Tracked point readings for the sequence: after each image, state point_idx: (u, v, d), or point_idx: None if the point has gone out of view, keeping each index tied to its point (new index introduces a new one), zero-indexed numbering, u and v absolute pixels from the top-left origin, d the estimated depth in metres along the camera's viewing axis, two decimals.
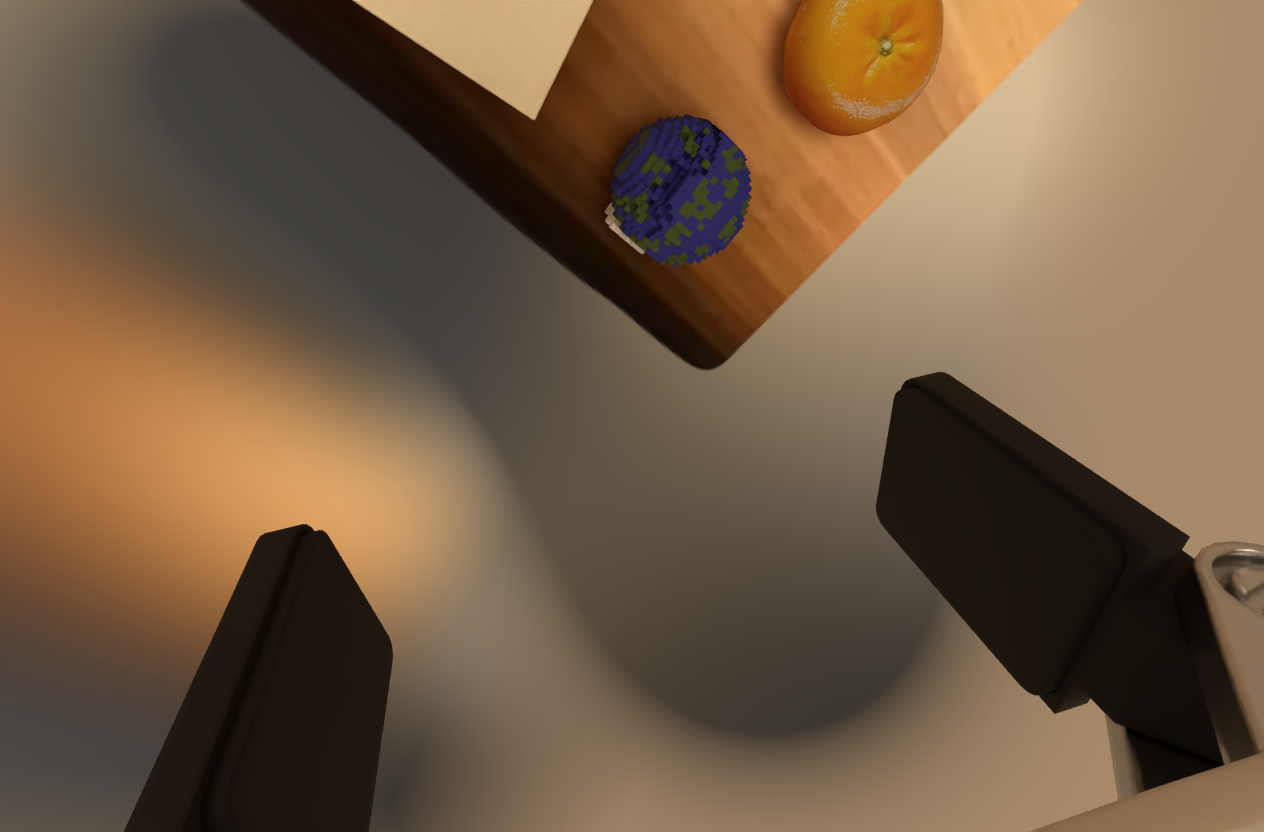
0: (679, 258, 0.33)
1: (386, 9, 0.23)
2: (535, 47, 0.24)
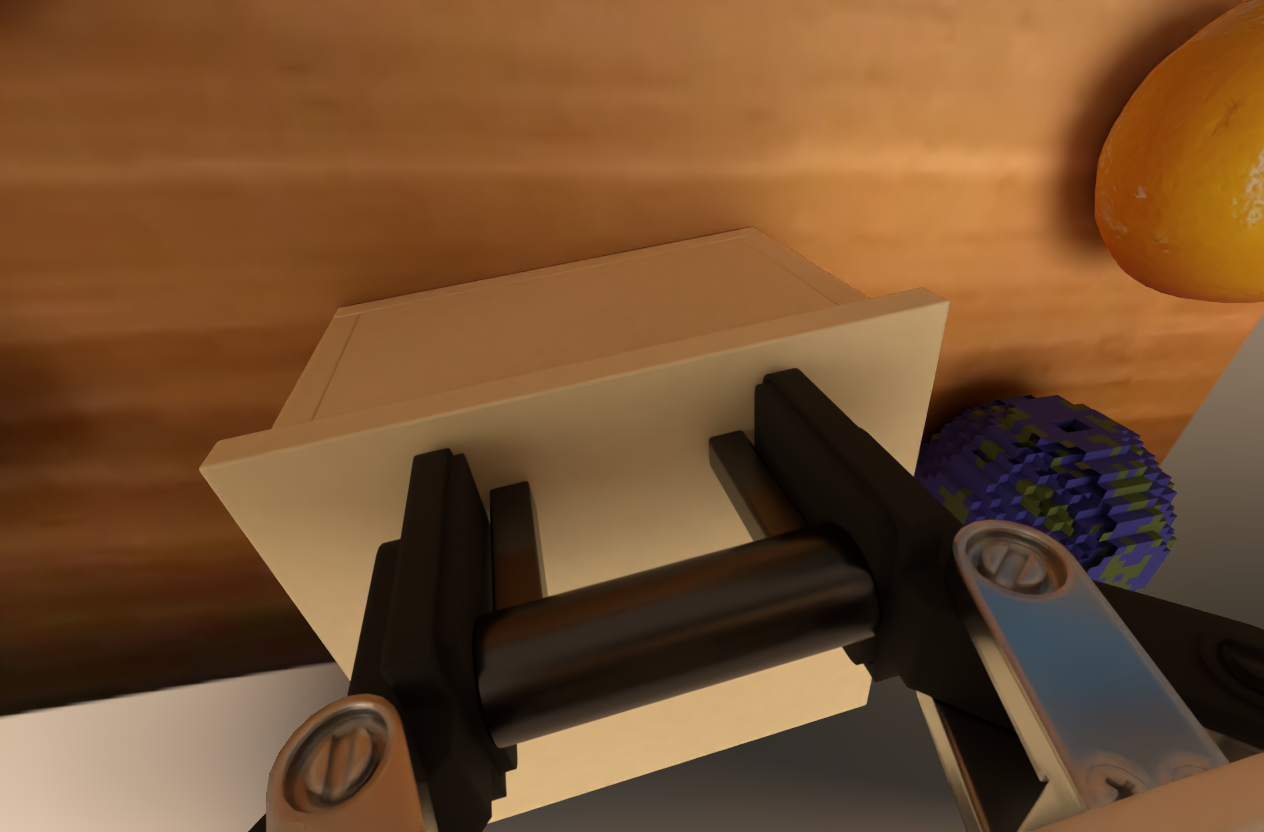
0: None
1: (652, 765, 0.16)
2: (835, 670, 0.16)
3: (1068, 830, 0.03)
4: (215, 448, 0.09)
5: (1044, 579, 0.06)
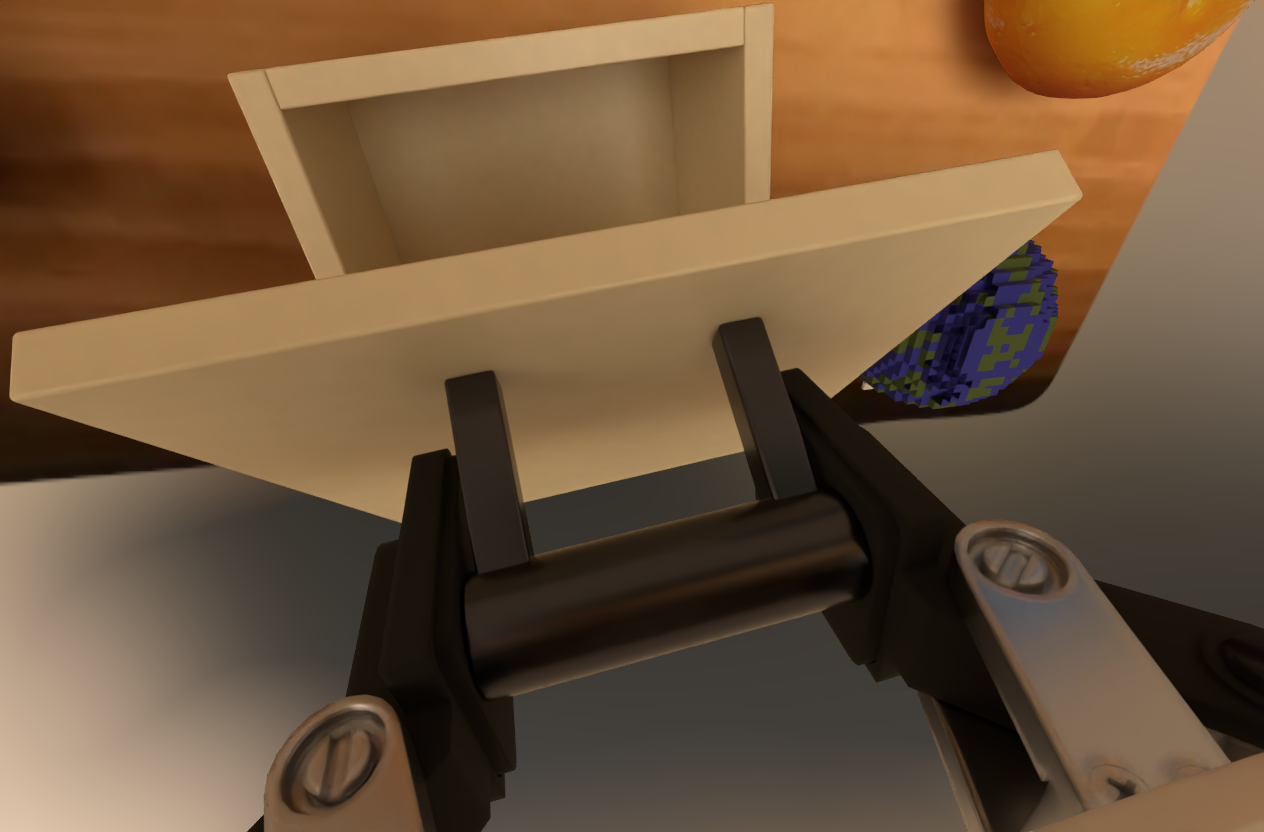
0: None
1: (585, 486, 0.19)
2: None
3: (1067, 829, 0.03)
4: (17, 355, 0.06)
5: (1046, 579, 0.06)
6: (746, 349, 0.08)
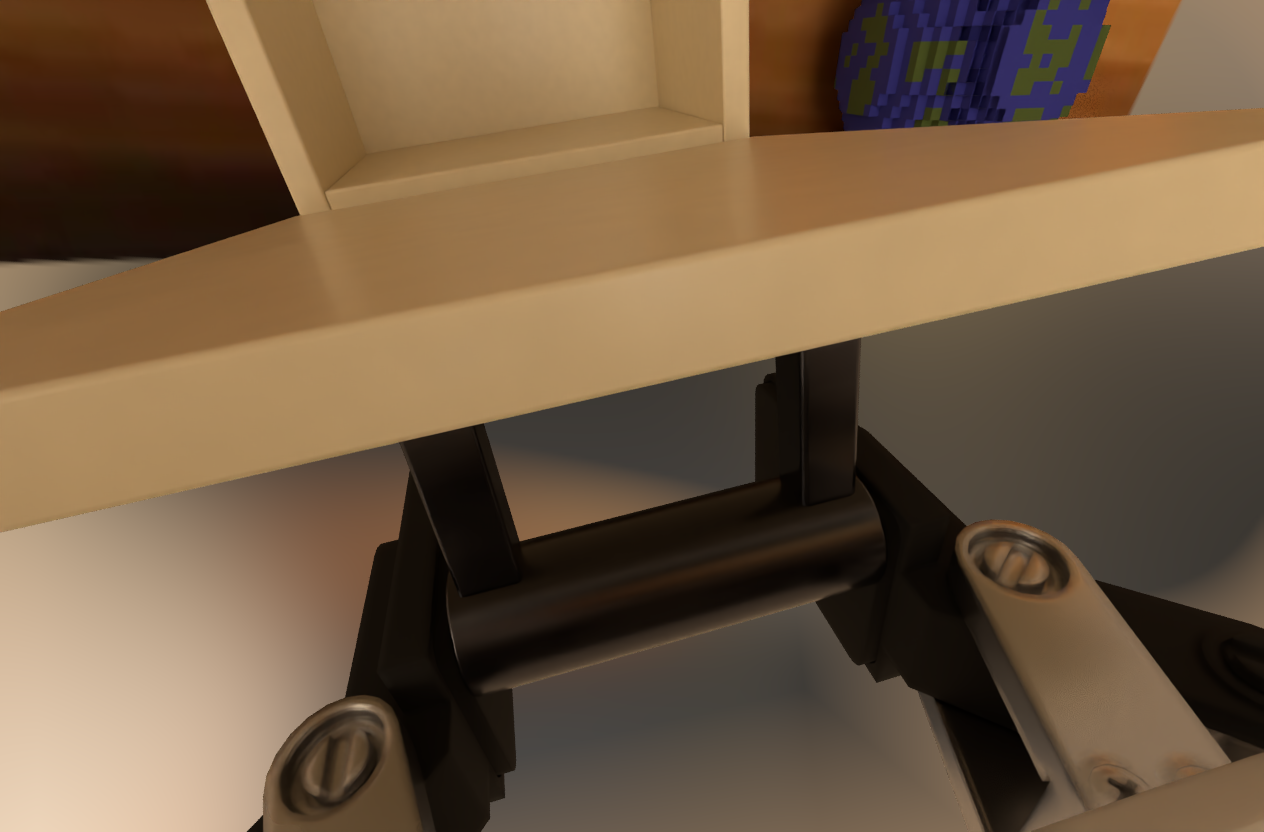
0: None
1: None
2: None
3: (1067, 830, 0.03)
4: None
5: (1047, 579, 0.06)
6: None
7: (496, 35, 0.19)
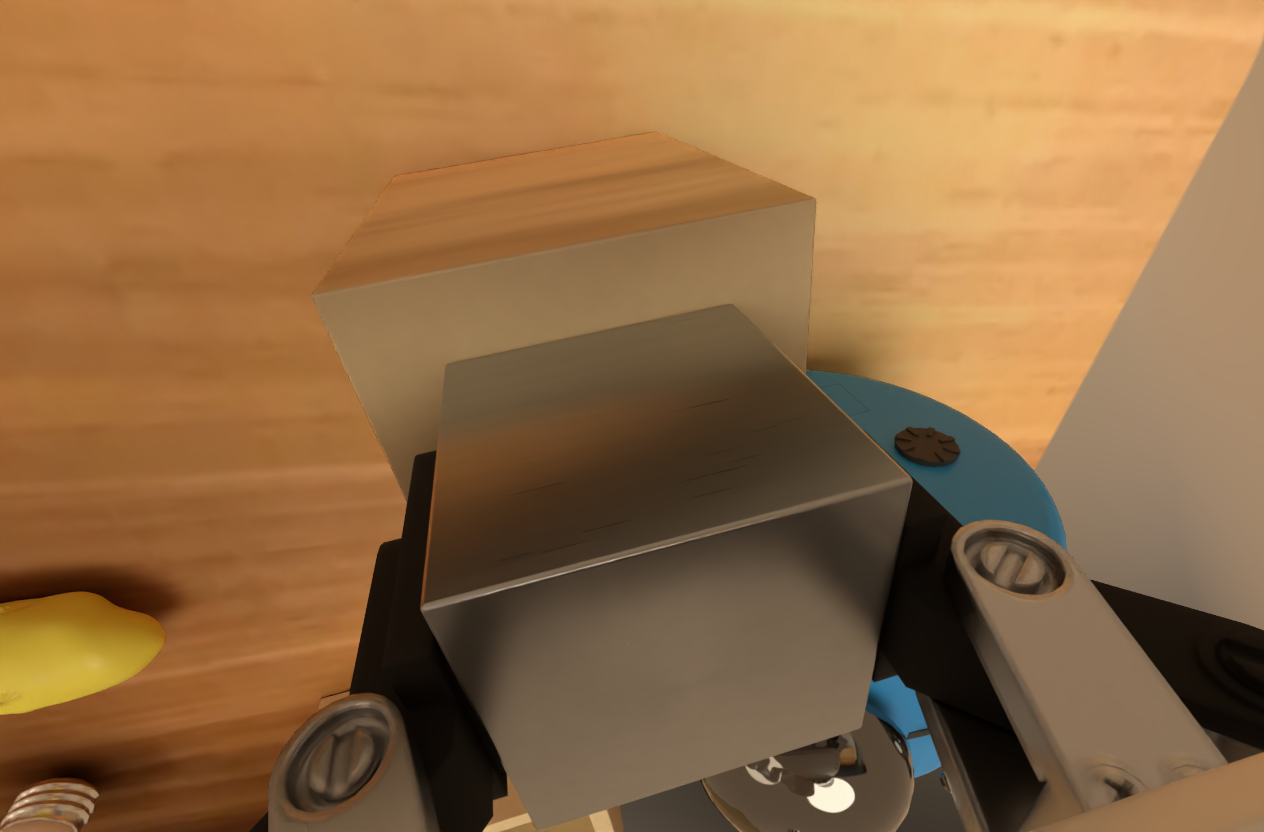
0: None
1: None
2: None
3: (1067, 830, 0.03)
4: None
5: (1042, 579, 0.06)
6: None
7: None
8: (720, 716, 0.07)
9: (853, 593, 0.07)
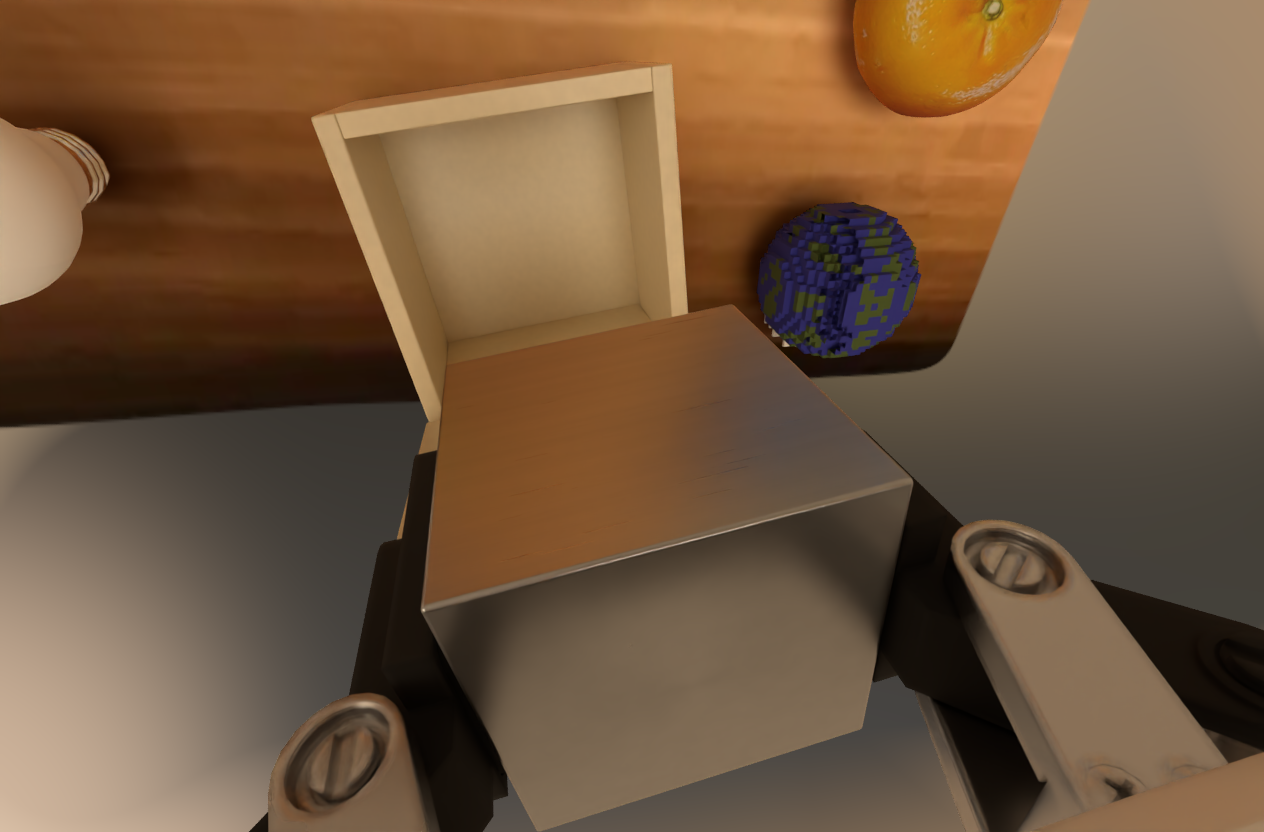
0: None
1: None
2: None
3: (1067, 830, 0.03)
4: None
5: (1043, 579, 0.06)
6: None
7: (534, 272, 0.30)
8: (720, 717, 0.07)
9: (854, 593, 0.07)
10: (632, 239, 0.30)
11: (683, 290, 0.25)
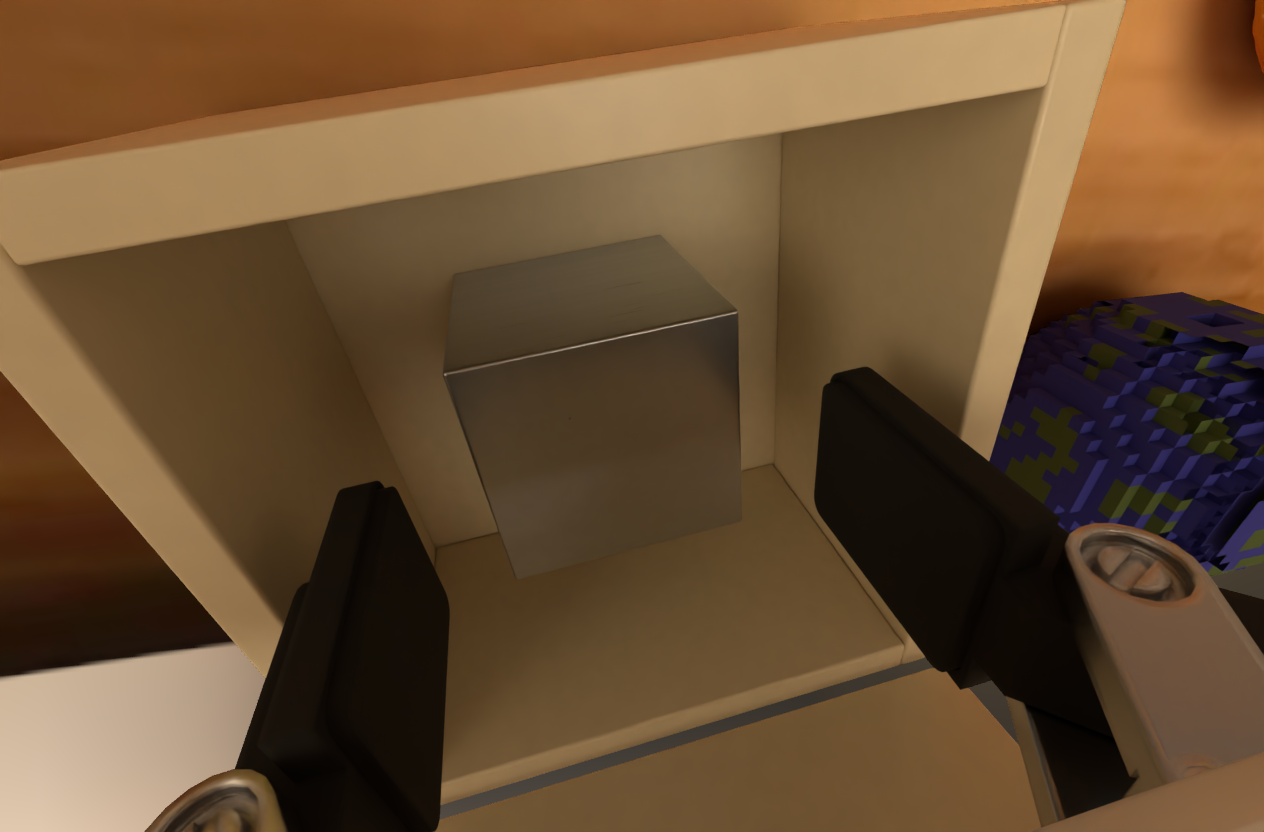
0: None
1: None
2: None
3: (1068, 830, 0.03)
4: None
5: (1167, 589, 0.06)
6: None
7: None
8: (636, 491, 0.11)
9: (714, 395, 0.10)
10: (776, 365, 0.16)
11: None
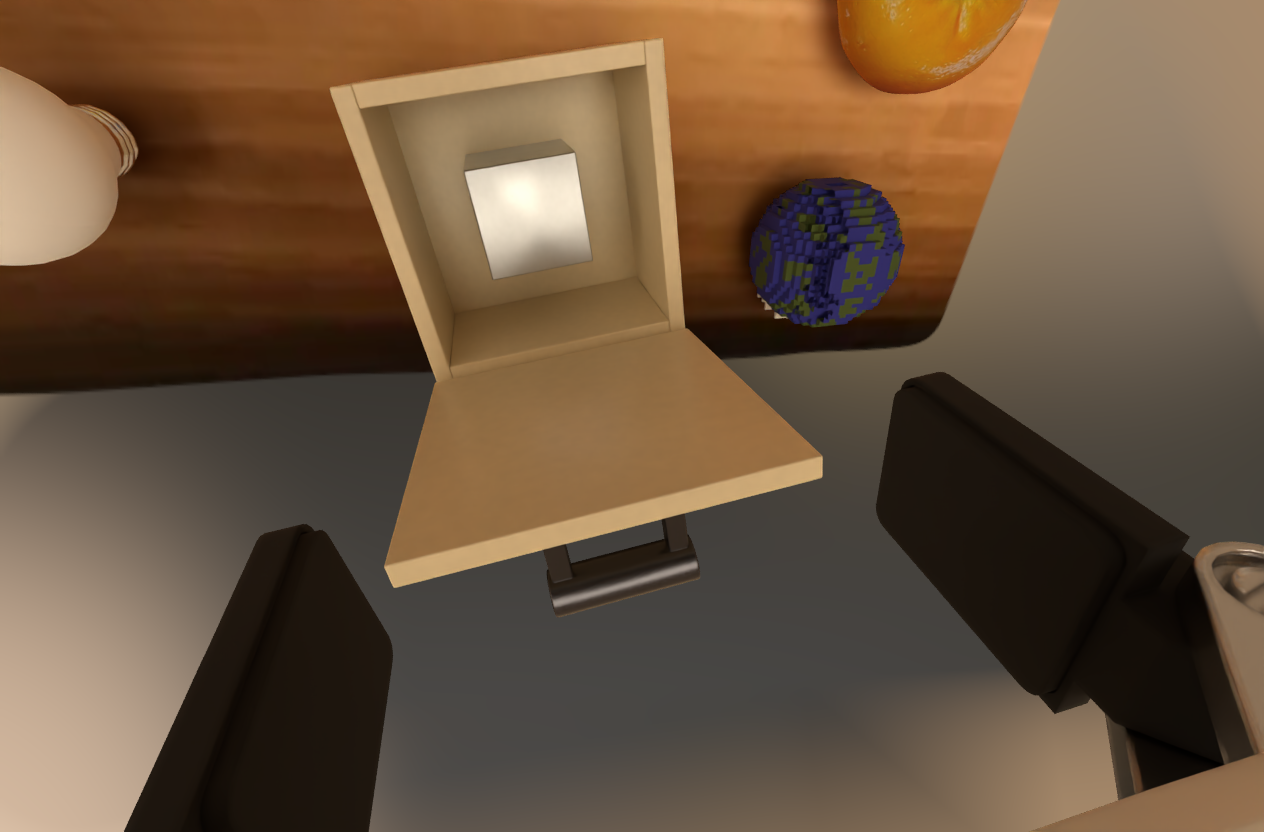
0: None
1: None
2: None
3: (1068, 830, 0.03)
4: (390, 574, 0.15)
5: None
6: None
7: None
8: (542, 237, 0.27)
9: (570, 191, 0.26)
10: (629, 214, 0.32)
11: (676, 256, 0.27)
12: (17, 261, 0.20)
